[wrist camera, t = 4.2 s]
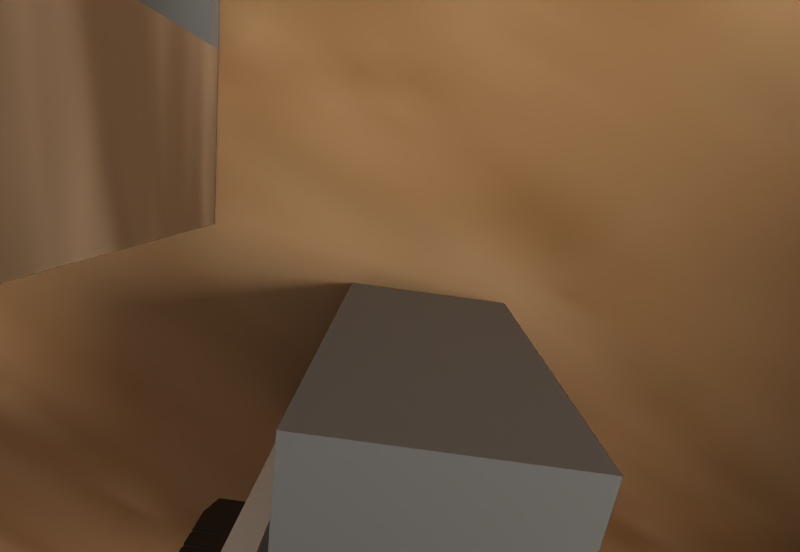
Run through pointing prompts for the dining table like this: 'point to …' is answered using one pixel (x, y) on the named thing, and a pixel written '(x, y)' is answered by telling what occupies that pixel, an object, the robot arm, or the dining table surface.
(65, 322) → the dining table surface
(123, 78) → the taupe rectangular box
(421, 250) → the dining table surface
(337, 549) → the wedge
